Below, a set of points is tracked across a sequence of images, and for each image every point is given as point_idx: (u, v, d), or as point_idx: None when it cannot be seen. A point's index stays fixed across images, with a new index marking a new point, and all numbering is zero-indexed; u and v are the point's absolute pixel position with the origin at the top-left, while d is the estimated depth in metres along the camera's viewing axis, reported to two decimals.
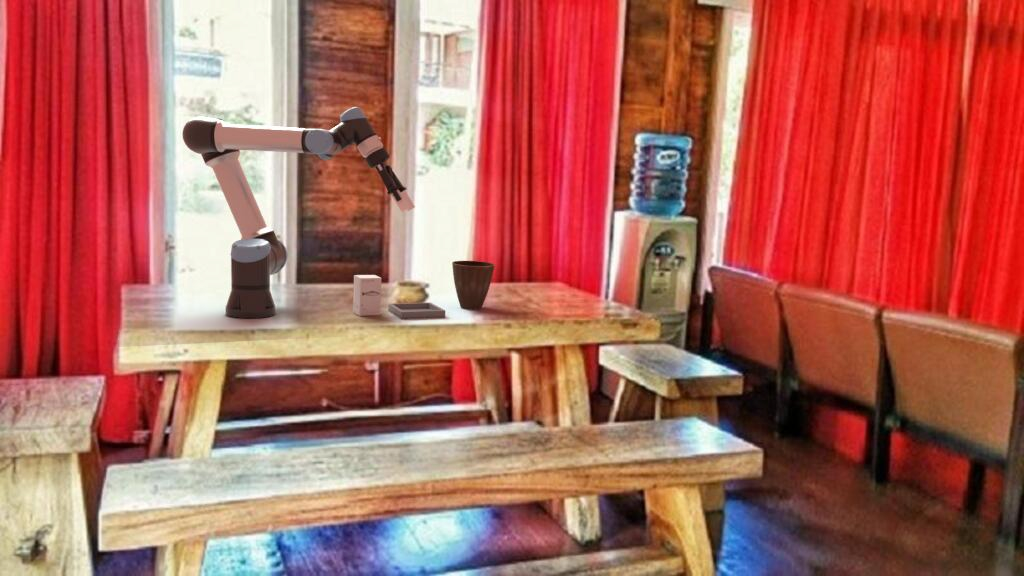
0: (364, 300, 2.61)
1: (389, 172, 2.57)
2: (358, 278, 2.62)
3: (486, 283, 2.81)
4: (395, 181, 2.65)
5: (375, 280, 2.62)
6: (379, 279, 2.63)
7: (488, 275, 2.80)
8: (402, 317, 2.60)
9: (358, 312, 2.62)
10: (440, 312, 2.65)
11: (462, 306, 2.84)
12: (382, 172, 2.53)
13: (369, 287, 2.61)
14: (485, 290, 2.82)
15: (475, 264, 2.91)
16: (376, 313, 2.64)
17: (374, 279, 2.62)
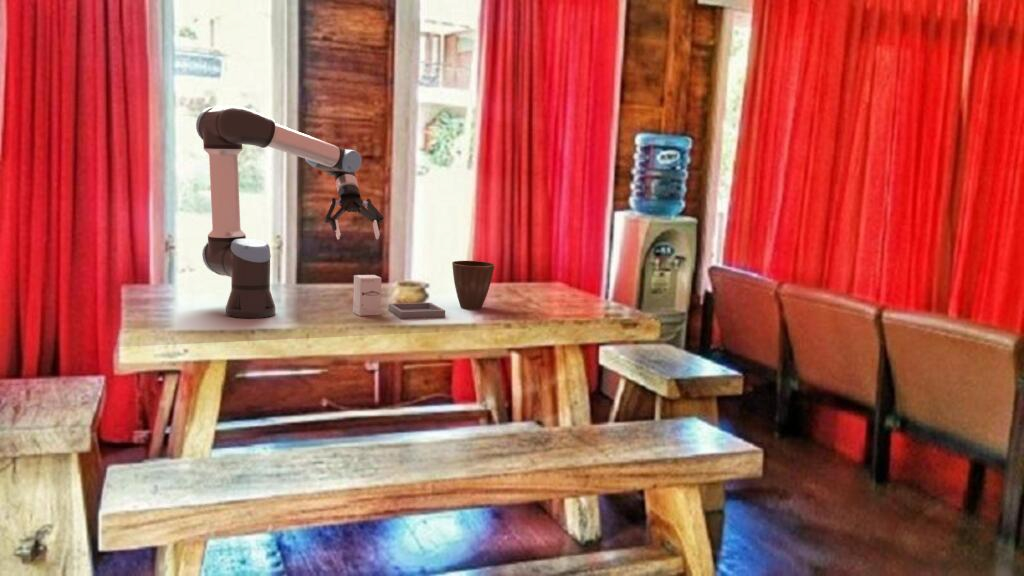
0: (364, 300, 2.61)
1: None
2: (358, 278, 2.62)
3: (486, 283, 2.81)
4: (340, 214, 2.80)
5: (375, 280, 2.62)
6: (379, 279, 2.63)
7: (488, 275, 2.80)
8: (402, 317, 2.60)
9: (358, 312, 2.62)
10: (440, 312, 2.65)
11: (462, 306, 2.84)
12: None
13: (369, 287, 2.61)
14: (485, 290, 2.82)
15: (475, 264, 2.91)
16: (376, 313, 2.64)
17: (374, 279, 2.62)
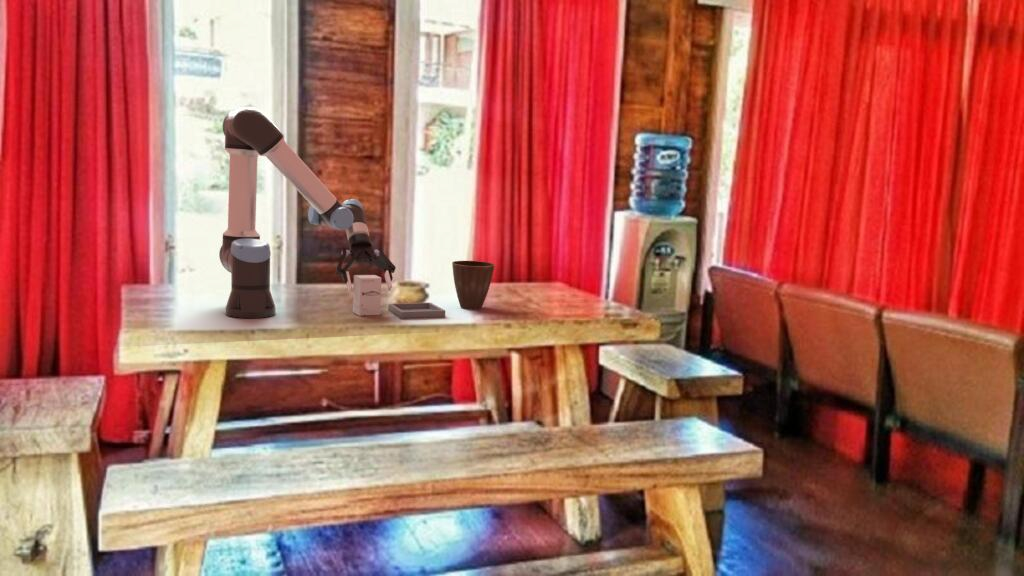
0: (364, 300, 2.61)
1: None
2: (358, 278, 2.62)
3: (486, 283, 2.81)
4: (351, 265, 2.71)
5: (375, 280, 2.62)
6: (379, 279, 2.63)
7: (488, 275, 2.80)
8: (402, 317, 2.60)
9: (358, 312, 2.62)
10: (440, 312, 2.65)
11: (462, 306, 2.84)
12: None
13: (369, 287, 2.61)
14: (485, 290, 2.82)
15: (475, 264, 2.91)
16: (376, 313, 2.64)
17: (374, 279, 2.62)
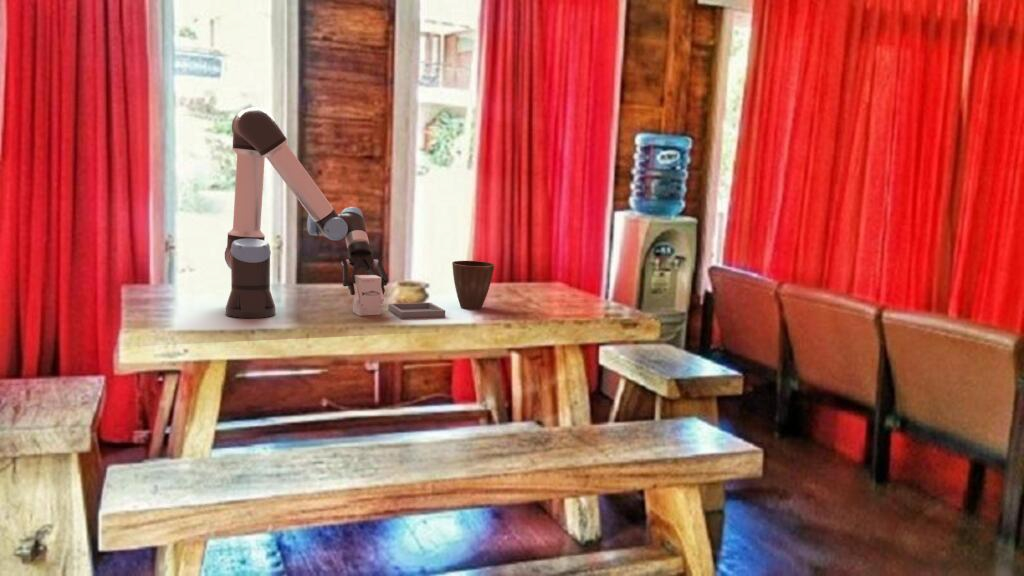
0: (364, 300, 2.61)
1: None
2: (358, 278, 2.62)
3: (486, 283, 2.81)
4: None
5: (375, 280, 2.62)
6: (379, 279, 2.63)
7: (488, 275, 2.80)
8: (402, 317, 2.60)
9: (358, 312, 2.62)
10: (440, 312, 2.65)
11: (462, 306, 2.84)
12: None
13: (369, 286, 2.61)
14: (485, 290, 2.82)
15: (475, 264, 2.91)
16: (376, 313, 2.64)
17: (374, 279, 2.62)
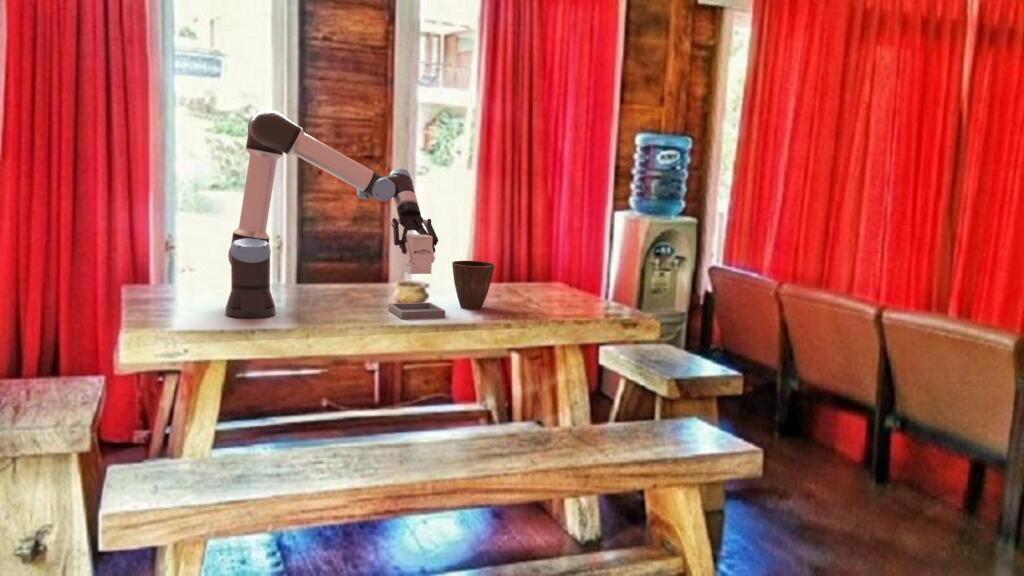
0: (416, 258, 2.63)
1: None
2: (410, 237, 2.63)
3: (486, 283, 2.81)
4: None
5: (426, 239, 2.63)
6: (430, 238, 2.64)
7: (488, 275, 2.80)
8: (402, 317, 2.60)
9: (410, 270, 2.64)
10: (440, 312, 2.65)
11: (462, 306, 2.84)
12: None
13: (421, 245, 2.63)
14: (485, 290, 2.82)
15: (475, 264, 2.91)
16: (427, 272, 2.66)
17: (425, 238, 2.63)
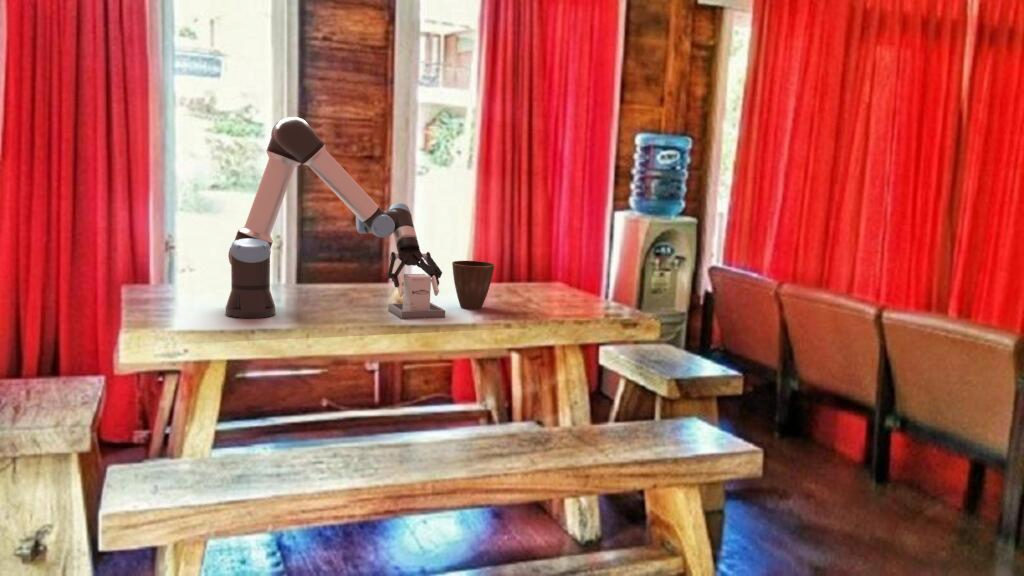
0: (414, 298, 2.65)
1: None
2: (408, 277, 2.65)
3: (486, 283, 2.81)
4: (401, 269, 2.71)
5: (425, 279, 2.65)
6: (429, 278, 2.66)
7: (488, 275, 2.80)
8: (402, 317, 2.60)
9: (408, 310, 2.66)
10: (440, 312, 2.65)
11: (462, 306, 2.84)
12: None
13: (419, 285, 2.65)
14: (485, 290, 2.82)
15: (475, 264, 2.91)
16: None
17: (424, 278, 2.65)
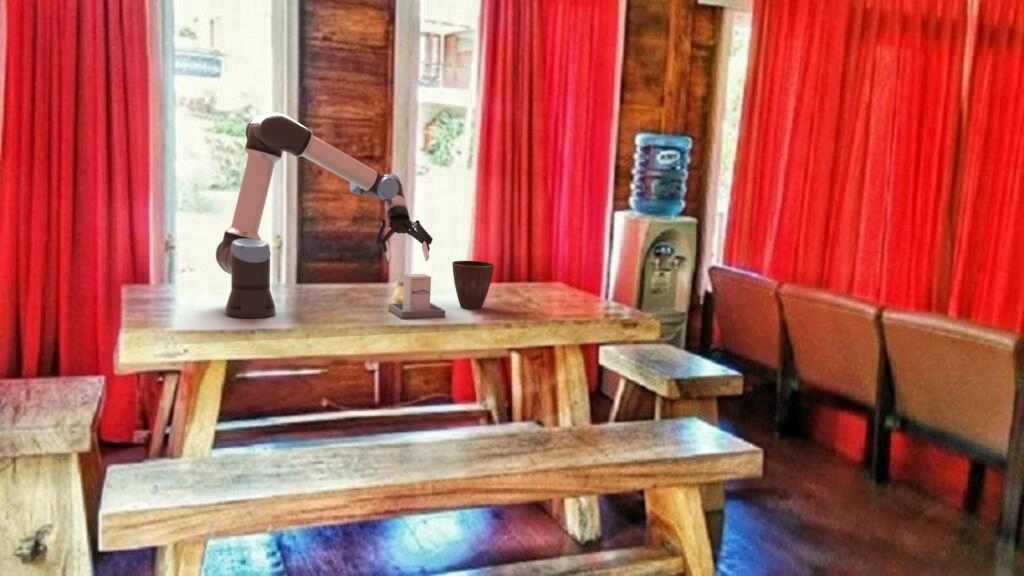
0: (414, 298, 2.65)
1: None
2: (408, 277, 2.65)
3: (486, 283, 2.81)
4: (390, 236, 2.80)
5: (425, 279, 2.65)
6: (429, 278, 2.66)
7: (488, 275, 2.80)
8: (402, 317, 2.60)
9: (408, 310, 2.66)
10: (440, 312, 2.65)
11: (462, 306, 2.84)
12: None
13: (419, 285, 2.65)
14: (485, 290, 2.82)
15: (475, 264, 2.91)
16: None
17: (424, 278, 2.65)
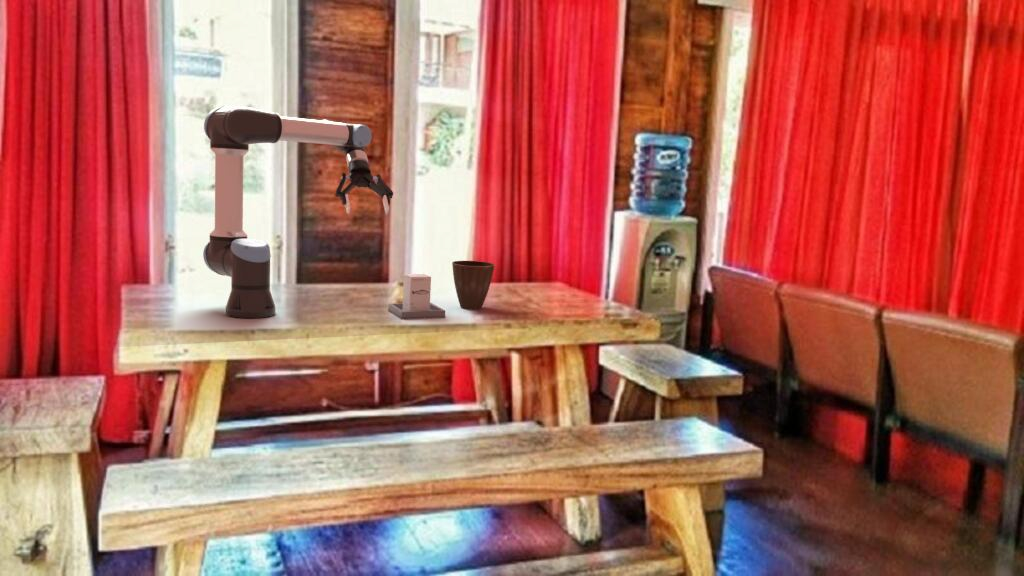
0: (414, 298, 2.65)
1: None
2: (408, 277, 2.65)
3: (486, 283, 2.81)
4: (350, 189, 2.81)
5: (425, 279, 2.65)
6: (429, 278, 2.66)
7: (488, 275, 2.80)
8: (402, 317, 2.60)
9: (408, 310, 2.66)
10: (440, 312, 2.65)
11: (462, 306, 2.84)
12: None
13: (419, 285, 2.65)
14: (485, 290, 2.82)
15: (475, 264, 2.91)
16: None
17: (424, 278, 2.65)
